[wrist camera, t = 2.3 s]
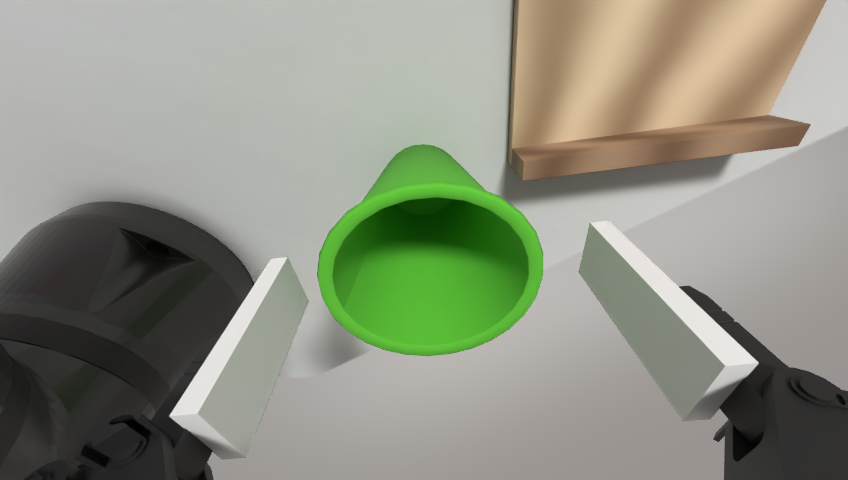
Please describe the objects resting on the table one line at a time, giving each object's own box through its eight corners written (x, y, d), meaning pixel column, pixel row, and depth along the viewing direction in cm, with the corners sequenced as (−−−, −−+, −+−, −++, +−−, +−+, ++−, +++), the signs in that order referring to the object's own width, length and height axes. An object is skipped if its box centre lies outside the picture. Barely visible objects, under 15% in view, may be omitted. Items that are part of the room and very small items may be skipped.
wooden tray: (507, 162, 21) (522, 180, 18) (521, -157, 13) (550, -208, 10) (746, 131, 20) (798, 145, 17) (916, -222, 12) (1059, -294, 9)
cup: (497, 212, 23) (555, 329, 14) (387, 246, 24) (374, 373, 15) (468, 89, 18) (529, 144, 9) (333, 141, 19) (265, 234, 10)
